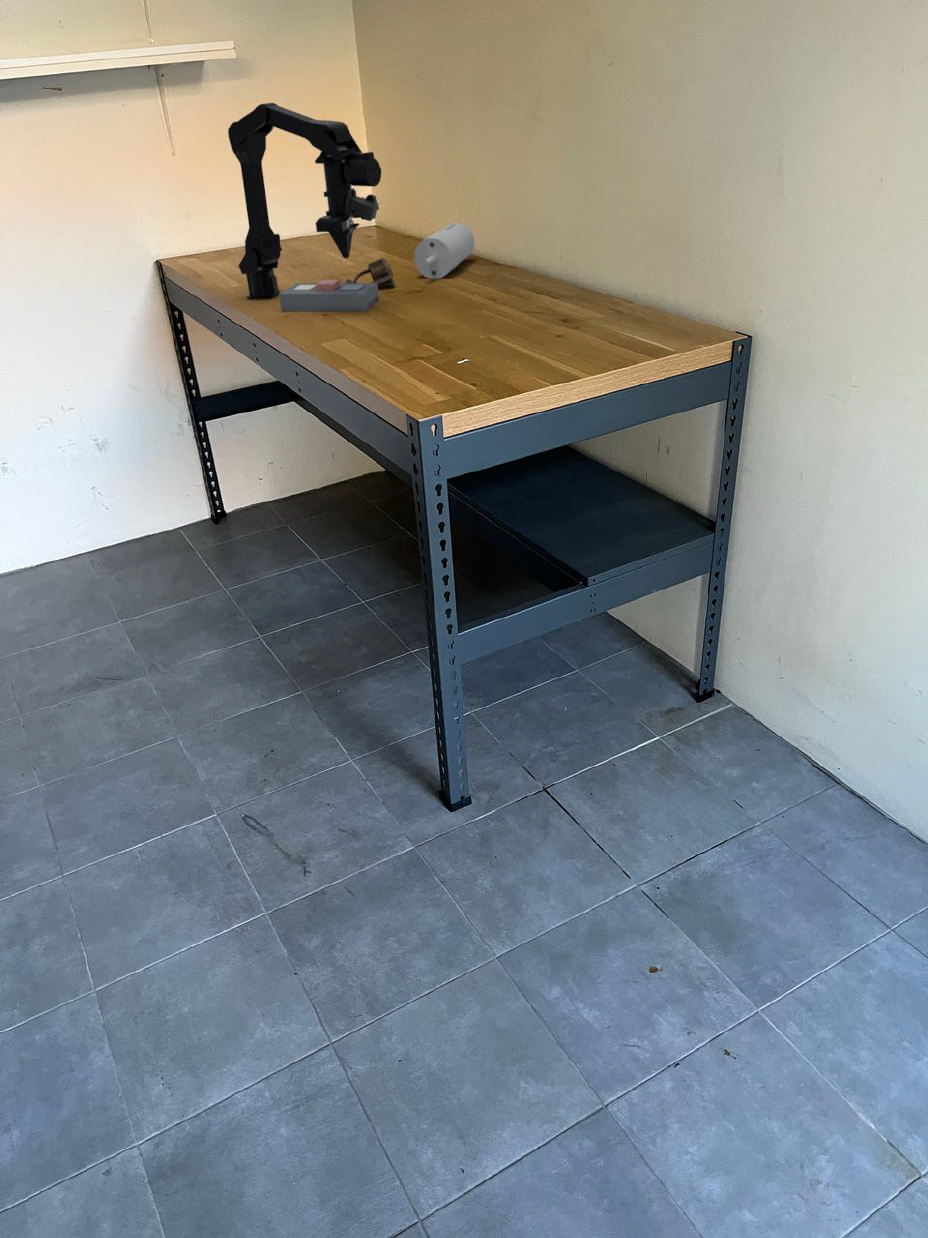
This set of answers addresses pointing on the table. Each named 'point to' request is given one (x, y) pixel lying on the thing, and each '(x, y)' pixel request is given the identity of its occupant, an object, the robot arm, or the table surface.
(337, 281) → the red key
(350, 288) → the blue key
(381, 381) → the table surface
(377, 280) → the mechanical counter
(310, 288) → the white key
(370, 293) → the key panel
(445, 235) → the motor
